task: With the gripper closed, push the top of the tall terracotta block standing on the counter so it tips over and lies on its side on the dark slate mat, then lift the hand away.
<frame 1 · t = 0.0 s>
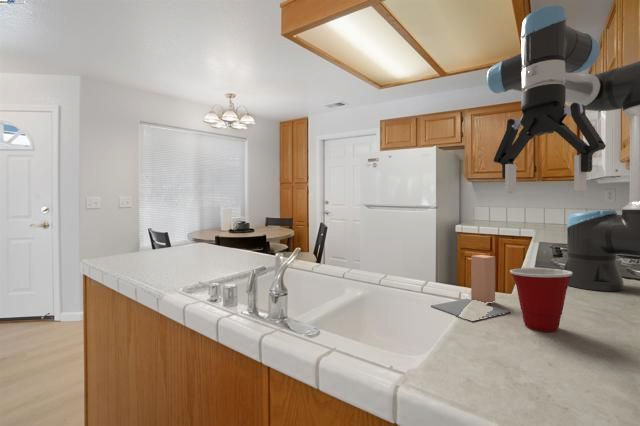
hand: (542, 192, 68), 28 cm above the table, fingers open, 13 cm apart
terracotta block: (483, 301, 86), on the table
plastic cup: (539, 327, 68), on the table
slate mat: (469, 310, 79), on the table
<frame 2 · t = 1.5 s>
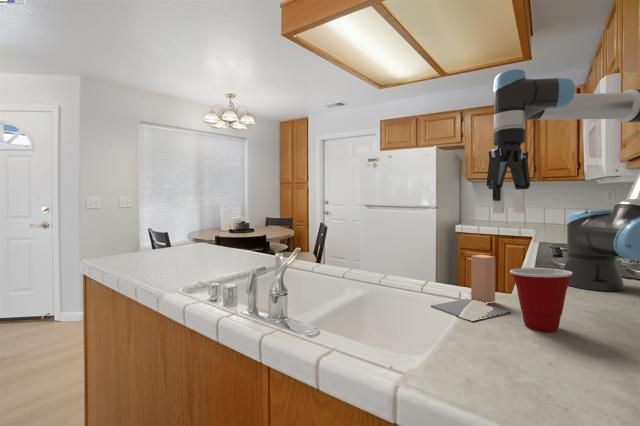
hand: (508, 212, 90), 23 cm above the table, fingers open, 8 cm apart
nothing on the table moved.
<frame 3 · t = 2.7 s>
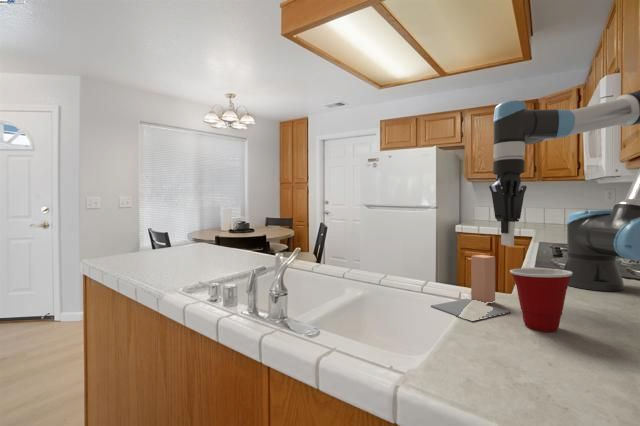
hand: (507, 245, 90), 14 cm above the table, fingers closed
nothing on the table moved.
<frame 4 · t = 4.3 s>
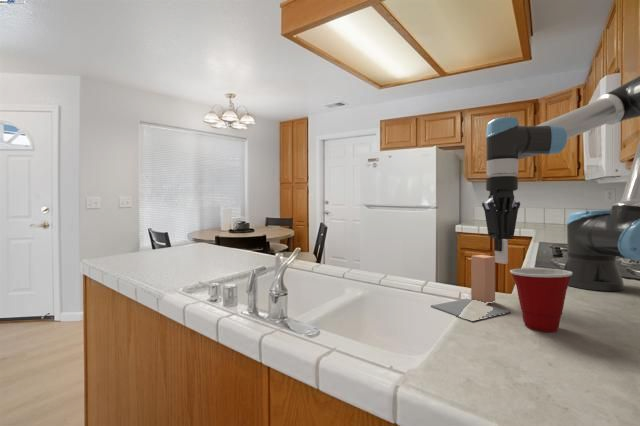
hand: (501, 262, 89), 10 cm above the table, fingers closed
nothing on the table moved.
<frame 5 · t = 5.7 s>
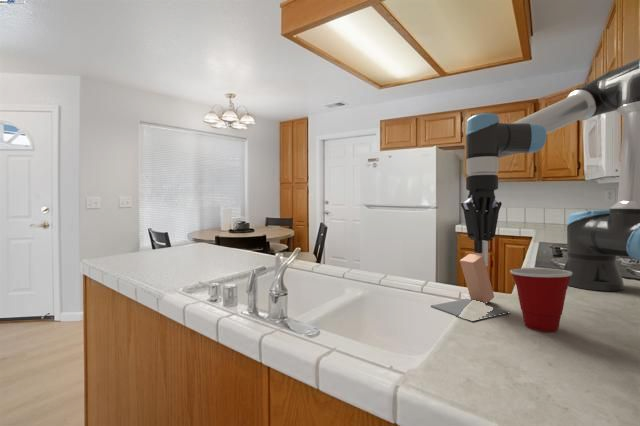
hand: (481, 265, 85), 10 cm above the table, fingers closed
terracotta block: (482, 299, 86), point 1 cm above the table, tilted 21°
everything else where it was.
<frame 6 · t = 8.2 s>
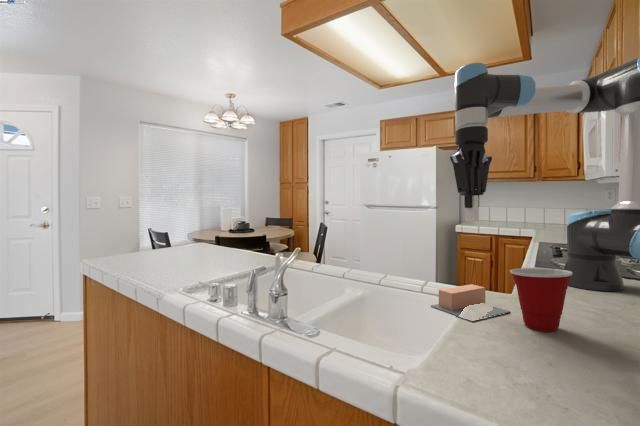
hand: (472, 220, 83), 21 cm above the table, fingers closed
terracotta block: (478, 293, 85), point 2 cm above the table, tilted 90°, touching slate mat
everything else where it was.
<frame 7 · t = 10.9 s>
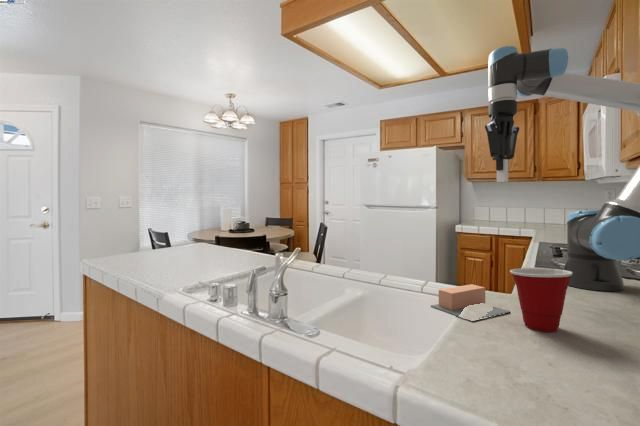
hand: (502, 181, 98), 32 cm above the table, fingers closed
nothing on the table moved.
at the end: terracotta block tilted 90°; terracotta block touching slate mat; plastic cup moved 0.2 cm from its start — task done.
